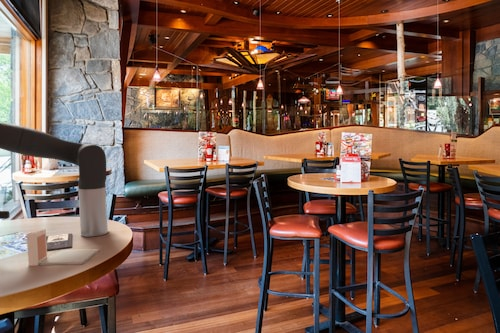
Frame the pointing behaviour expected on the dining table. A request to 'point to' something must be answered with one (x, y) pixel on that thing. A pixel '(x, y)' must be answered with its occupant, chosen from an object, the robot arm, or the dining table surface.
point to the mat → (69, 256)
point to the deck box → (36, 247)
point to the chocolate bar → (59, 242)
